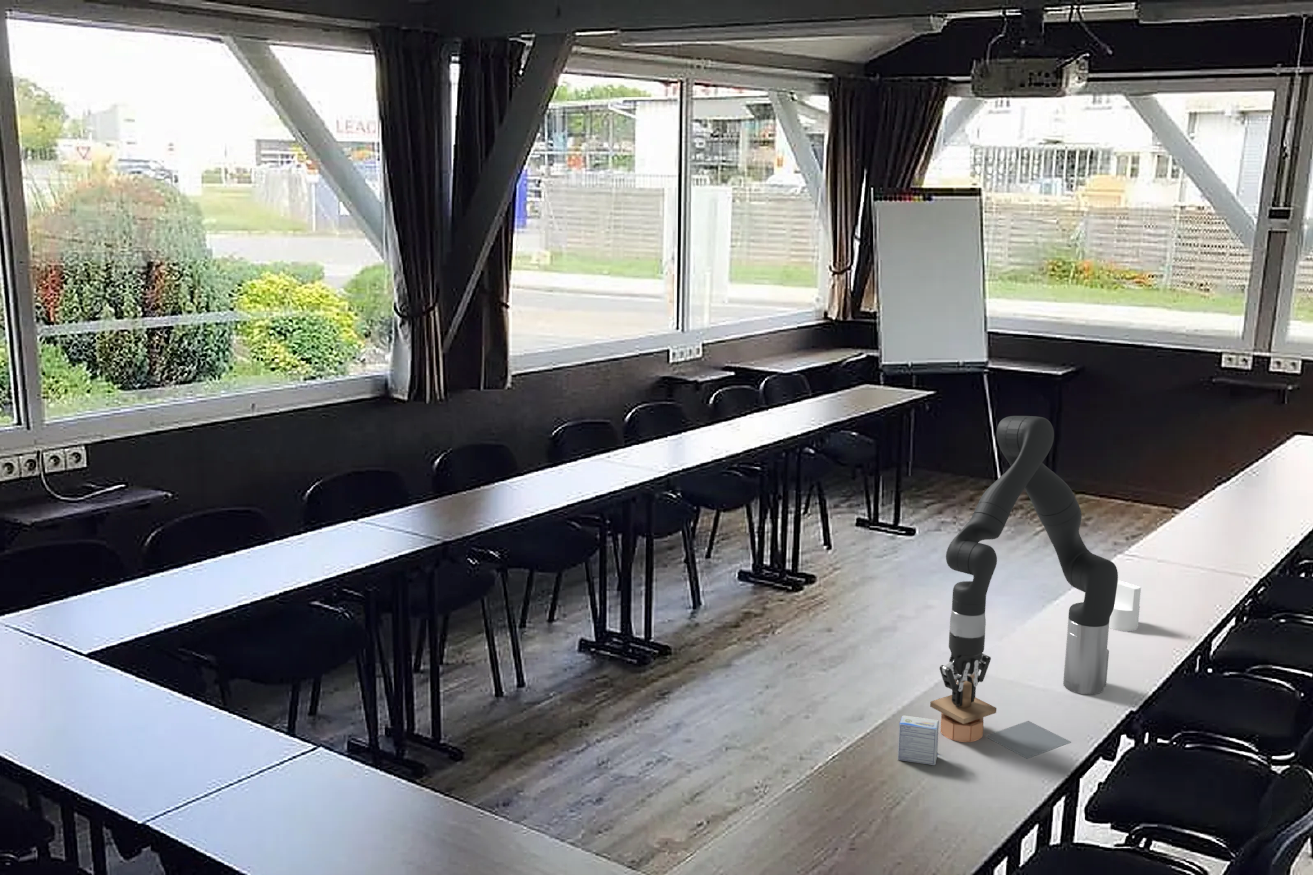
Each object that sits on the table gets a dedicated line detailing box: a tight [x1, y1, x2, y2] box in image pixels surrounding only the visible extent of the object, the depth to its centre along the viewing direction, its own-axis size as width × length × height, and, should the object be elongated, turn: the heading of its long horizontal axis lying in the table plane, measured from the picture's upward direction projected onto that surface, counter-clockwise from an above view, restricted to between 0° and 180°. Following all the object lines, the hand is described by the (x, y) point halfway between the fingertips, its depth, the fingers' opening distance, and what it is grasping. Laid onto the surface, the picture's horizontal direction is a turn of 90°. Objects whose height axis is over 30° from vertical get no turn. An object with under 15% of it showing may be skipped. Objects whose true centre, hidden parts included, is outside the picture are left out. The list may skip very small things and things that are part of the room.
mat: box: [984, 720, 1072, 759], centre depth 261 cm, size 14×12×1 cm
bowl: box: [940, 712, 984, 743], centre depth 264 cm, size 9×9×4 cm
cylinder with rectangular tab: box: [1109, 579, 1142, 632], centre depth 325 cm, size 9×9×12 cm
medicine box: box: [897, 714, 940, 766], centre depth 253 cm, size 8×4×9 cm, turn 71°
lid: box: [930, 681, 997, 724], centre depth 262 cm, size 10×10×6 cm
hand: (963, 702), depth 263 cm, fingers closed on lid, 3 cm apart
